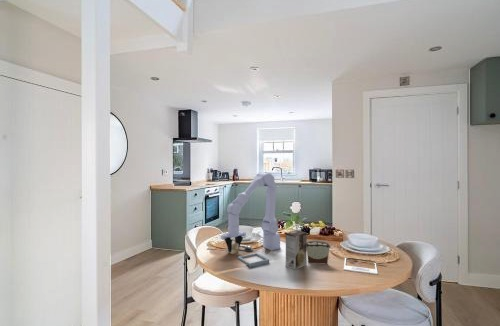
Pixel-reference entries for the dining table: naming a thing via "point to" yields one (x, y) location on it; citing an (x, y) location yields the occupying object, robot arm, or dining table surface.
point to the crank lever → (243, 245)
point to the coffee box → (296, 249)
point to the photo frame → (360, 269)
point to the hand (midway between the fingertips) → (233, 250)
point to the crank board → (241, 251)
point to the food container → (318, 252)
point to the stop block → (234, 248)
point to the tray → (254, 264)
